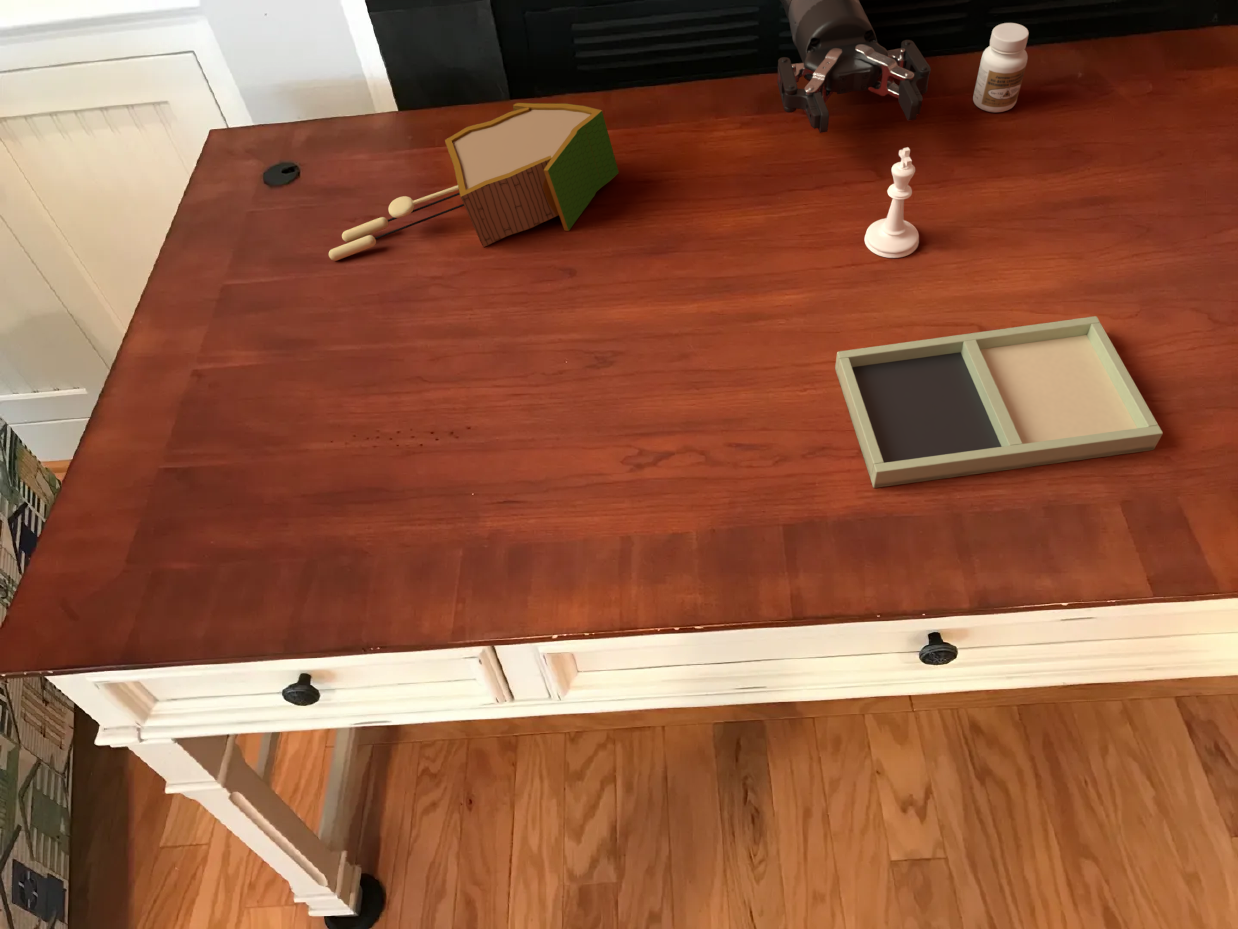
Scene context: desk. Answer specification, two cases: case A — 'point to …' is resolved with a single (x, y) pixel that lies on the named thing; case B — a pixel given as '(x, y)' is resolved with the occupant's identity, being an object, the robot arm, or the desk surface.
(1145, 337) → the desk surface
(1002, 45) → the pill bottle
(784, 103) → the robot arm
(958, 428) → the sorting tray
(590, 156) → the cuckoo clock
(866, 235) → the chess piece
